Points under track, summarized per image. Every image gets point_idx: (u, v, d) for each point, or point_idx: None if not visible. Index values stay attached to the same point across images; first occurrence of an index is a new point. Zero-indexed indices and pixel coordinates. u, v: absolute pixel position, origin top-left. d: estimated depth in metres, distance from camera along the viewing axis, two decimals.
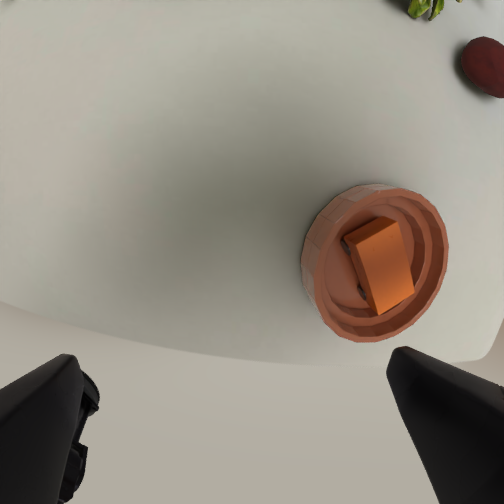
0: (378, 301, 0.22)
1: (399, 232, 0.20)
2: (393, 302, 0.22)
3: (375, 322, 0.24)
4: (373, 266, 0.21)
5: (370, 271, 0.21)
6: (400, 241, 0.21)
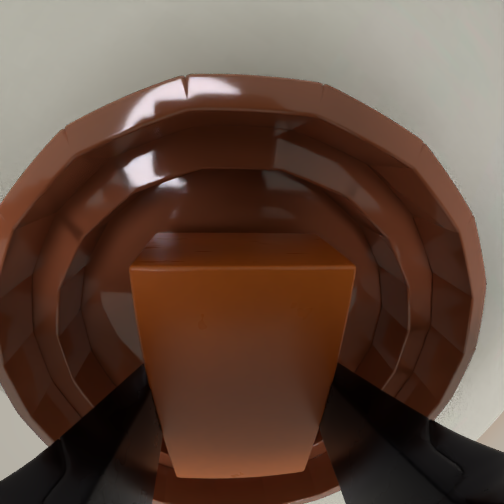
0: (180, 457, 0.06)
1: (343, 311, 0.05)
2: (229, 473, 0.07)
3: None
4: (183, 377, 0.05)
5: (167, 385, 0.05)
6: (331, 344, 0.05)
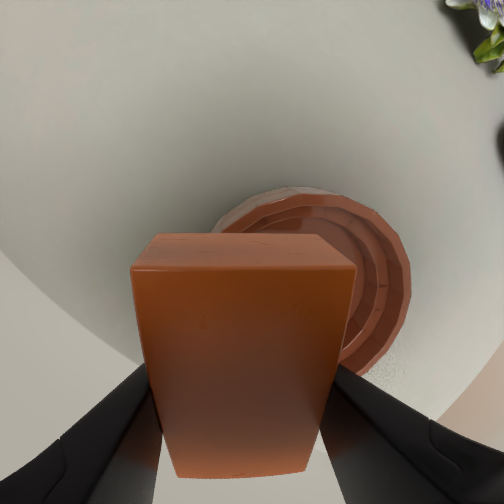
0: (181, 458, 0.06)
1: (344, 311, 0.05)
2: (230, 473, 0.07)
3: None
4: (184, 377, 0.05)
5: (168, 385, 0.05)
6: (331, 344, 0.05)
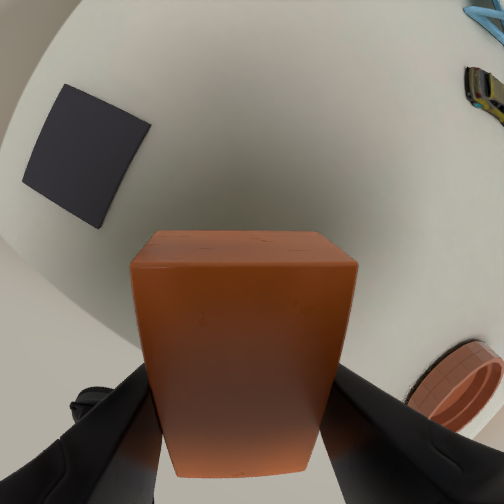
0: (181, 457, 0.06)
1: (345, 308, 0.05)
2: (230, 473, 0.07)
3: None
4: (184, 375, 0.05)
5: (168, 384, 0.05)
6: (332, 341, 0.05)
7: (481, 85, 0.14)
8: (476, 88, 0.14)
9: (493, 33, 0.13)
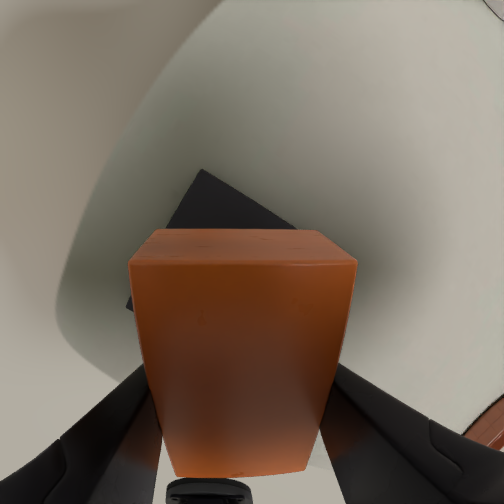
0: (180, 457, 0.06)
1: (344, 307, 0.05)
2: (229, 472, 0.07)
3: None
4: (183, 374, 0.05)
5: (166, 382, 0.05)
6: (332, 340, 0.05)
7: None
8: None
9: None
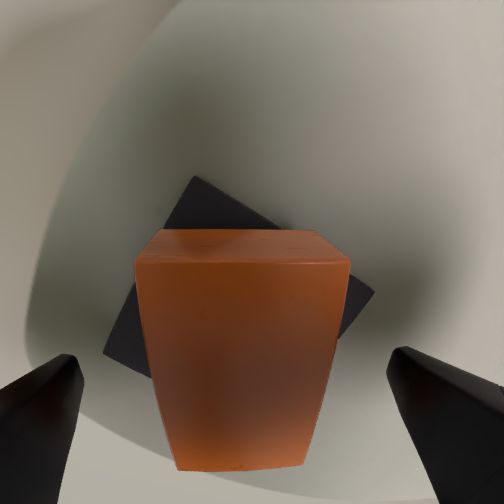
0: (181, 450, 0.06)
1: (339, 303, 0.06)
2: (229, 466, 0.07)
3: None
4: (185, 367, 0.06)
5: (169, 376, 0.06)
6: (327, 335, 0.06)
7: None
8: None
9: None
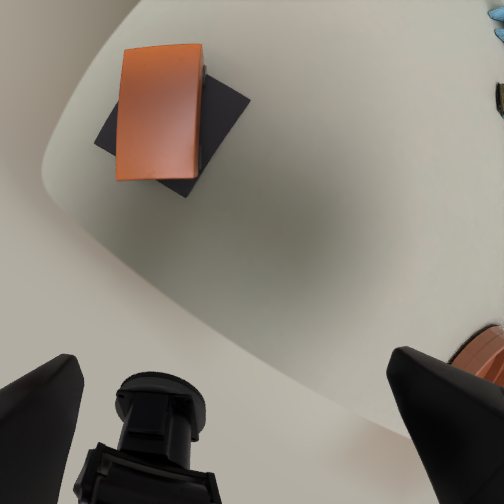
0: (121, 152, 0.12)
1: (197, 58, 0.12)
2: (146, 170, 0.13)
3: None
4: (134, 88, 0.12)
5: (126, 94, 0.12)
6: (193, 72, 0.12)
7: None
8: None
9: None
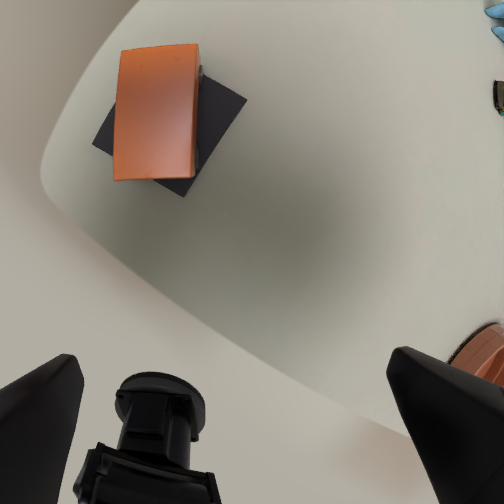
0: (118, 152, 0.13)
1: (193, 59, 0.12)
2: (143, 170, 0.13)
3: None
4: (130, 89, 0.12)
5: (123, 94, 0.12)
6: (189, 72, 0.12)
7: None
8: (503, 99, 0.16)
9: None
